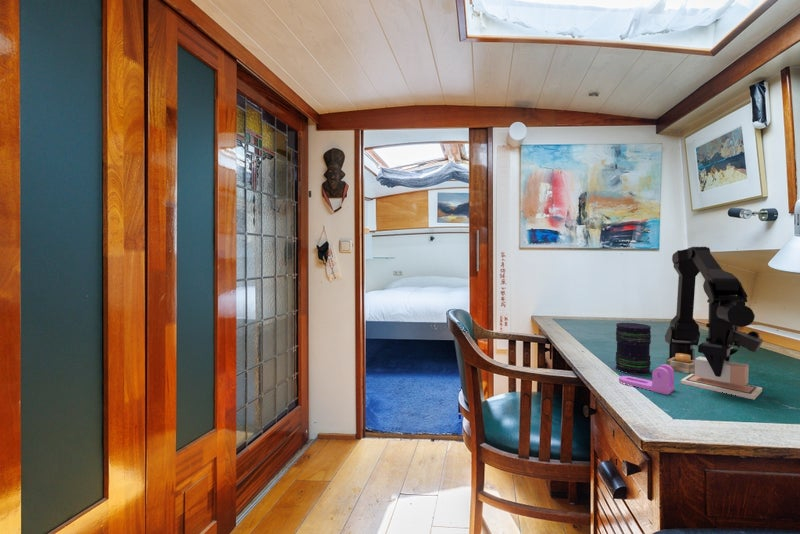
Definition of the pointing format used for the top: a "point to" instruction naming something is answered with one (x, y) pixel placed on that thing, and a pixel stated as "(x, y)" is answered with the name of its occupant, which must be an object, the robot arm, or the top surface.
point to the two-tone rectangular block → (723, 371)
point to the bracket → (654, 380)
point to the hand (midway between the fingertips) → (720, 374)
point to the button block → (682, 366)
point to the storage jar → (633, 348)
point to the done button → (683, 358)
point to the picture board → (722, 386)
